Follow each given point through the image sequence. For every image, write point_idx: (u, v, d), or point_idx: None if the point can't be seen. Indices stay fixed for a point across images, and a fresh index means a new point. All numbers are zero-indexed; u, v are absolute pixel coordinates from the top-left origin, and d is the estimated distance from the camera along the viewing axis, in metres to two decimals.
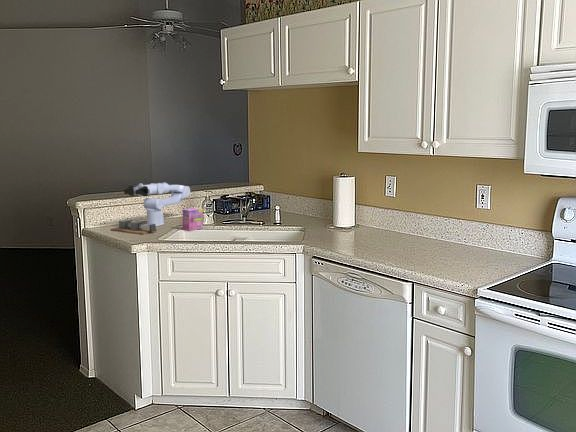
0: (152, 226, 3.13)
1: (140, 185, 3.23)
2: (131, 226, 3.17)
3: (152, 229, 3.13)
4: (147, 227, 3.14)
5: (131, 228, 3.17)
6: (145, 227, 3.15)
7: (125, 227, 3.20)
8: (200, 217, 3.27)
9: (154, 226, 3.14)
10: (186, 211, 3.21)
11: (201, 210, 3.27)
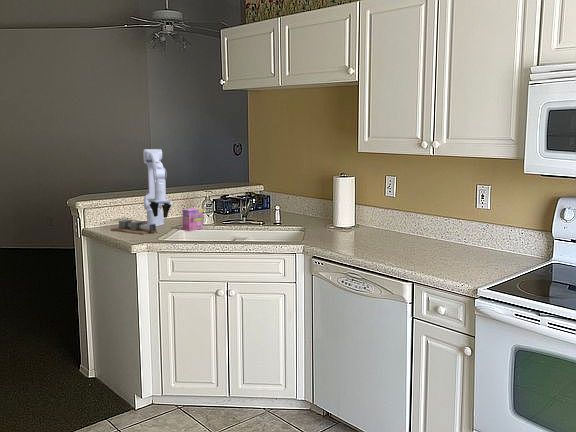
0: (152, 226, 3.13)
1: (157, 201, 3.07)
2: (131, 226, 3.17)
3: (152, 229, 3.13)
4: (147, 227, 3.14)
5: (131, 228, 3.17)
6: (145, 227, 3.15)
7: (125, 227, 3.20)
8: (200, 217, 3.27)
9: (154, 226, 3.14)
10: (186, 211, 3.21)
11: (201, 210, 3.27)
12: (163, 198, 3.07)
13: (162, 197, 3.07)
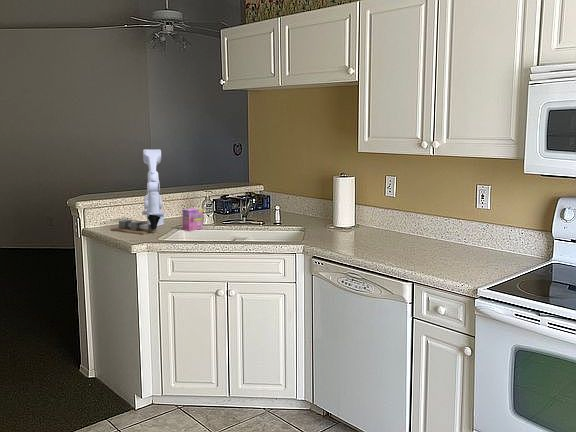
0: (151, 226, 3.13)
1: None
2: (131, 226, 3.17)
3: (150, 229, 3.13)
4: (146, 227, 3.15)
5: (131, 228, 3.17)
6: (144, 227, 3.15)
7: (125, 227, 3.20)
8: (200, 217, 3.27)
9: None
10: (186, 211, 3.21)
11: (201, 210, 3.27)
12: (157, 210, 3.10)
13: (156, 210, 3.10)
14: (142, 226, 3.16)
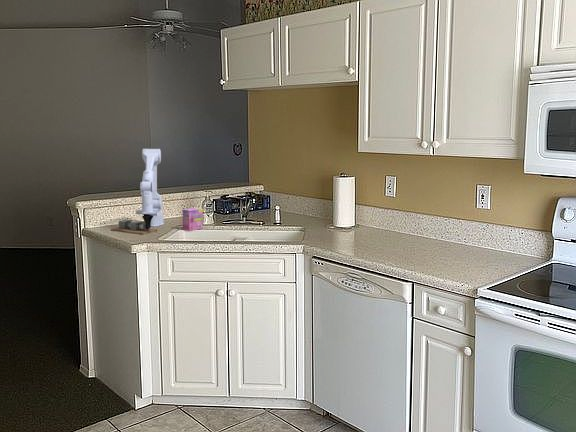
0: None
1: (144, 213, 3.11)
2: (131, 226, 3.17)
3: (145, 228, 3.15)
4: (141, 226, 3.16)
5: (131, 228, 3.17)
6: (139, 226, 3.17)
7: (125, 227, 3.20)
8: (200, 217, 3.27)
9: None
10: (186, 211, 3.21)
11: (201, 210, 3.27)
12: (150, 210, 3.12)
13: (149, 209, 3.12)
14: None
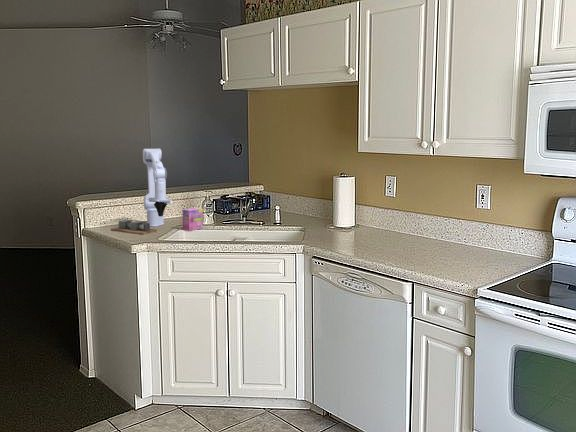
0: (146, 225, 3.15)
1: (157, 201, 3.09)
2: (131, 226, 3.17)
3: (146, 228, 3.15)
4: (141, 226, 3.16)
5: (131, 228, 3.17)
6: (139, 226, 3.17)
7: (125, 227, 3.20)
8: (200, 217, 3.27)
9: (148, 225, 3.16)
10: (186, 211, 3.21)
11: (201, 210, 3.27)
12: (163, 197, 3.09)
13: (162, 197, 3.09)
14: None
